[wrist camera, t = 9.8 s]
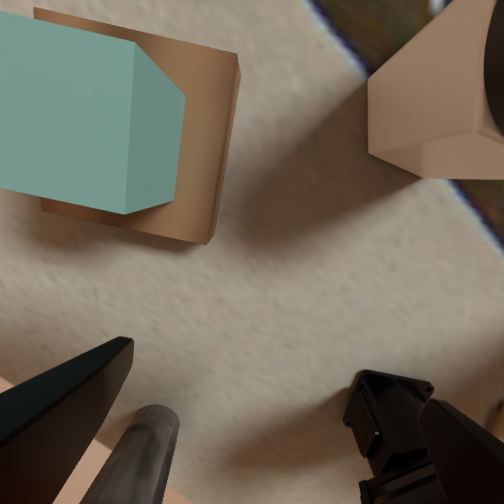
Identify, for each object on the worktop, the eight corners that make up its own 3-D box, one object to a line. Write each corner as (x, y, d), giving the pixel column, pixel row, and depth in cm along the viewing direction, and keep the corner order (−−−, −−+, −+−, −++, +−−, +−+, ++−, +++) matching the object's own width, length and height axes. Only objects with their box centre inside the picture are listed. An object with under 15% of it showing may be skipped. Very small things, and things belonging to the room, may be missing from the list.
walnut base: (241, 75, 16) (236, 53, 14) (214, 235, 20) (205, 245, 17) (73, 36, 16) (33, 6, 13) (74, 205, 19) (41, 210, 17)
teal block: (185, 95, 14) (135, 42, 9) (173, 200, 16) (124, 214, 10) (80, 72, 14) (-43, 0, 8) (79, 180, 16) (-23, 183, 10)
